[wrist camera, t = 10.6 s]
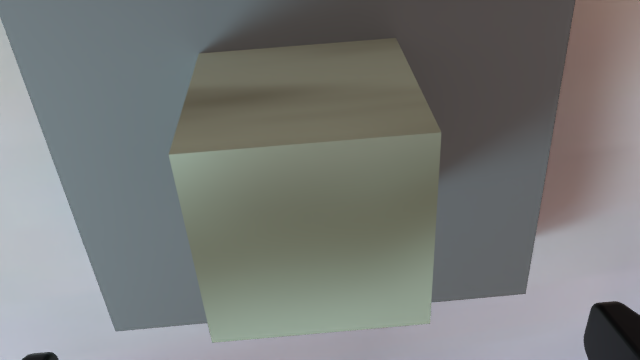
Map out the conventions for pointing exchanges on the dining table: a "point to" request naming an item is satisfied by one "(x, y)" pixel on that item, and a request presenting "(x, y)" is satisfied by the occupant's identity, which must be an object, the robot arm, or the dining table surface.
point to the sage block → (308, 189)
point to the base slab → (282, 31)
